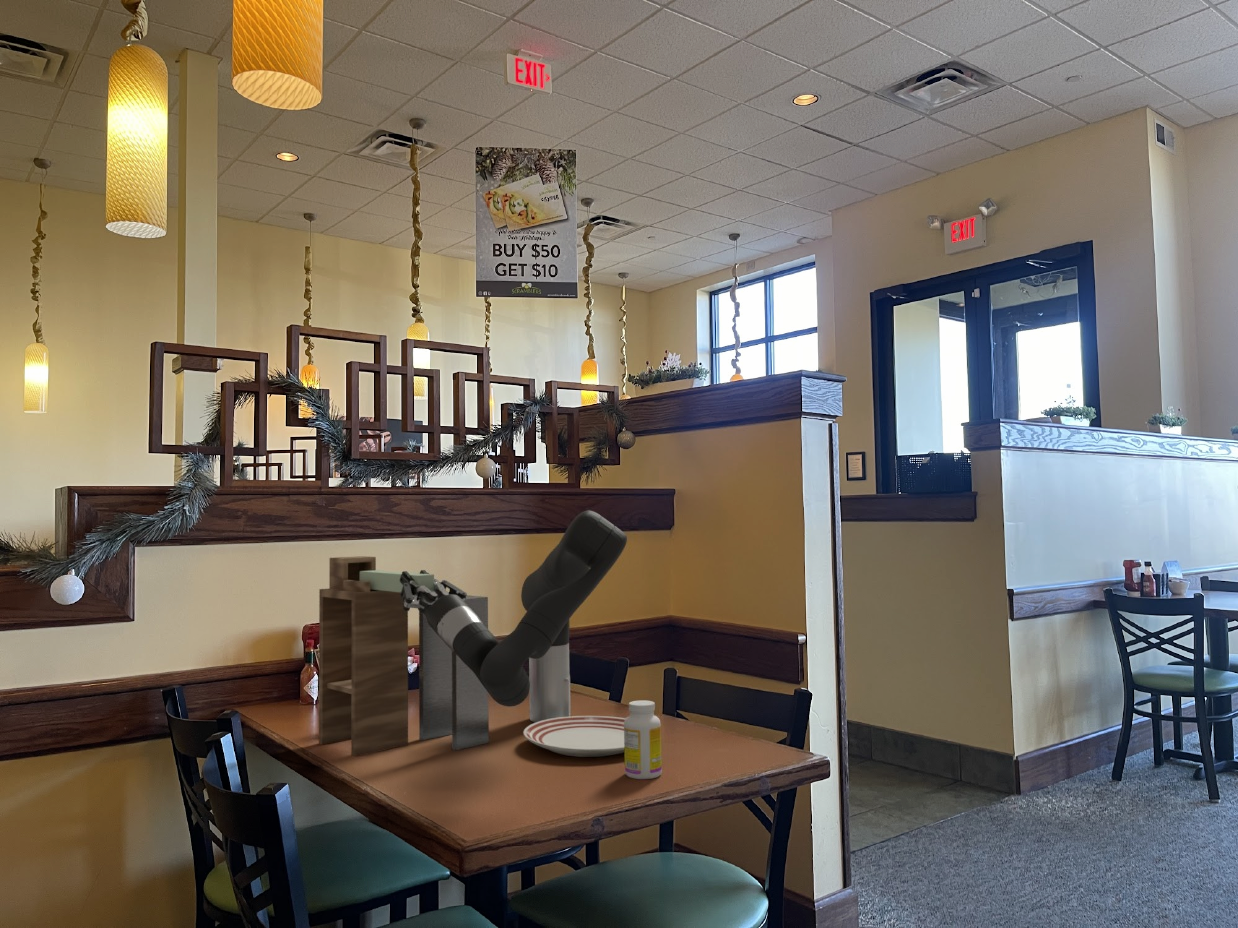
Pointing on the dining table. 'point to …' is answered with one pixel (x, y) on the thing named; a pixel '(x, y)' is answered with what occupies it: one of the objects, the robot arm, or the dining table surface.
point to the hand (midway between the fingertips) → (412, 574)
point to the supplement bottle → (642, 741)
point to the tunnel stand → (362, 661)
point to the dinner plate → (579, 735)
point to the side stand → (451, 688)
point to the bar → (394, 580)
